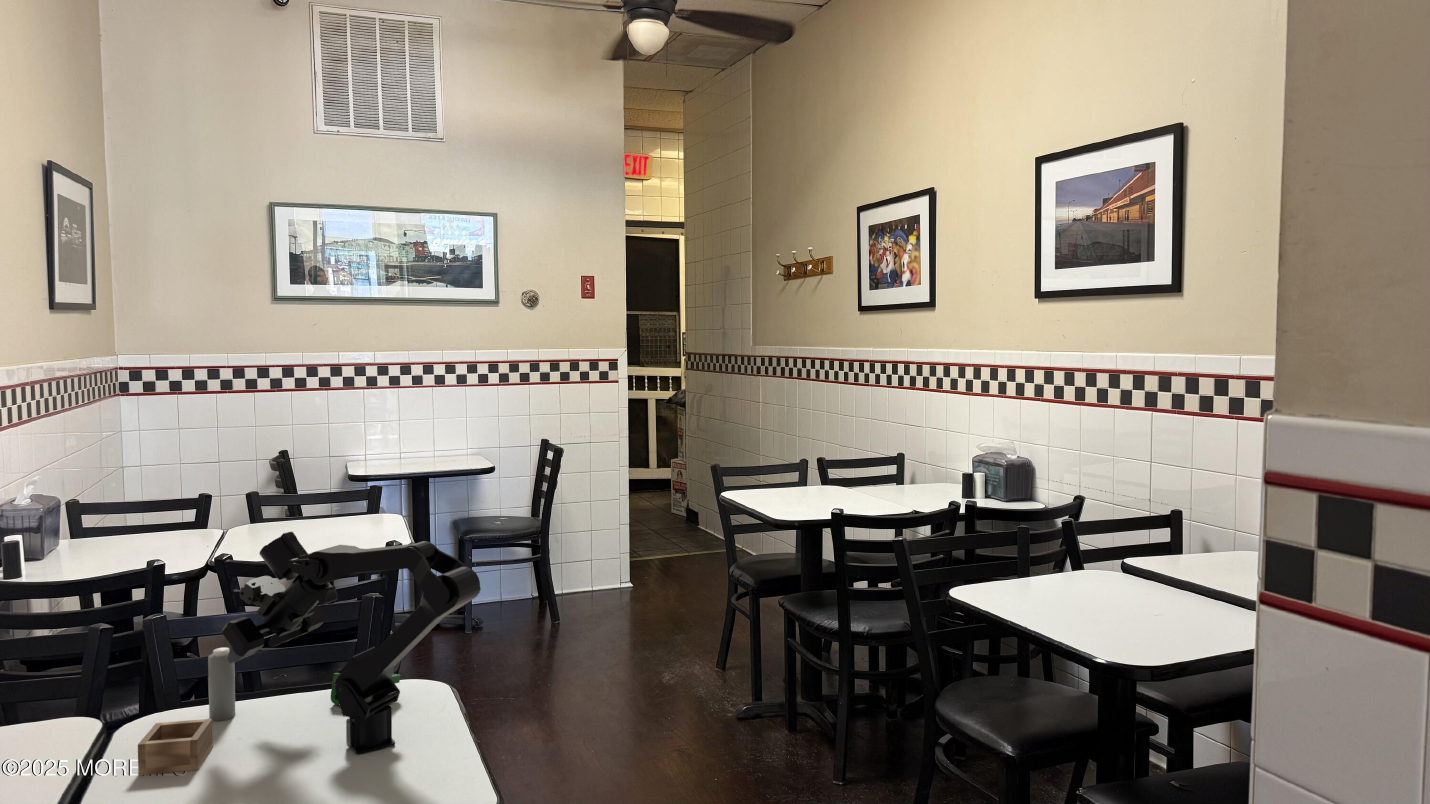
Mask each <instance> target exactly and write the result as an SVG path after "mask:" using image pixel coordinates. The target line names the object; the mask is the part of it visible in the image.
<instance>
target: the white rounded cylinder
mask: <svg viewBox="0 0 1430 804" xmlns="http://www.w3.org/2000/svg"><path fill="white" fill-rule="evenodd" d="M229 651H230V647H226V646H225V647H224V646H223V647H219V648H218V647H217V648H215V649H213V650H212V653H211V654H209V655H208V657H207V660H208V661H207V666H208V669H207V670H208V704H209V705H208V708H209V709H208V712H209V713H208V714H209V717H208V719H212V722H222V721H223V722H225V721H228V720H230V719H233V718H234V717H235V716H236V683H235V682H236V679H235V678H236V677H235V676H236V674H235V669H236V668H235V662H234V663H229V661H228V660H227V658H228V654H229Z"/></svg>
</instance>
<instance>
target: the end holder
mask: <svg viewBox="0 0 1430 804" xmlns="http://www.w3.org/2000/svg"><path fill="white" fill-rule="evenodd" d="M213 734H214V733H213V721H212V719H209V718H205V719H192V720H191V719H190V720H178V721H165V722H156V723H155V724H154V725H153V726H152V727H151V729H149V731H148V732H147V733H146V734H145V736H143V738H142V739H141V740H140V741H139V742H138V744H137V765H138V766H137V767H138V769H137V770H138V774H137V775H138V776H145V775H157V774H169V773H179V772H181V773H182V772H190V771H192V772H193V771H199V769H200V768H201V766H202V764H203V763H204V762H205V760H206V759H207V757H208V755H210V752H211V751H212V749H213V748H214V743H213V742H214V741H213V740H214V738H213V737H214V736H213Z"/></svg>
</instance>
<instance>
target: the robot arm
mask: <svg viewBox="0 0 1430 804" xmlns="http://www.w3.org/2000/svg"><path fill="white" fill-rule="evenodd" d="M259 555H260V557H261V558H262V559H263V561H264V562H265V564H266V565H267V566H268V567H269V569H270V570H271V572H272V573H273V574H274V576H275V578H277V579H275V578H273V577H272V576H270V575H263V576H259V577H257V578H252V579H250V580H249V581H248V582H245V583H244V585H243V586H241V587H240V592H239V598H240V599H241V600H243V601H244V602H245V603H246V604H248V605H250V604H254V606H255V605H256V606H257V607H258V609H257V610H256V613H257V614H258V615H259V617H263V618H262V619H263V623H261V624H259V625H256V624H255V623H254V621H253V620H252V618H251V617H249V616H242V617H239V618H236V619H233V620H230V621H228V622H227V623H226V624H225V625H224V626H223V627H222V629H221V634H222V635H223V636H224V638H225V639H226V641H227V642H228V643H229V644H230V647H229V654H228V658H227V660H228V661H229V663H234V664H235V663H236V662H239V661H240V660H242V659H245V658H247V657H250V656H252V655H254V654H257V653H259V650H260V649H262V648H263V647H264V645H265V639H266V638H269V637H270V640H269V641H268V646H269V647H270V648H274V647H277V646H279V645H281V644H283V643H286V642H289V641H291V640H292V639H296V638H299V637H300V636H303V635H305V634H308V633H309V632H312V631H313V630H315V629H318V628H320V627H321V626H322V625H323V624H324V623H325V614H324V612H323V611H322V609H321V608H320V607H319V606H318V603H320V605H322V606H323V605H324V606H325V605H326V604H329V603H332V602H335V601H337V600H338V597H339V596H338V593H337V588H336V587H337V586H335V585H331V583H332V582H334V581H337V580H340V579H343V578H346V577H349V576H352V575H357V574H365V573H375V572H385V571H398V570H405V569H408V570H409V572H411V574H412V577H413V578H414V580H415V583H416V585H417V587H418V588H419V590H421V591H422V592H423V593H422V595H421V600H420V603H419V605H418V606H417V608H415V609H414V610H413V611H412V612H411V614H409V615H408V616H407V617H406V618H405V619H404V621H402V622H401V623H400V624H399V626H397V627H396V628H395V629H394V631H393V632H392V633H391V634H390V635H388V637H387V638H386V639H384V641H382V643H380V644H379V646H378V647H377V648H376V647H375V646H372V647H371V648H368V649H367V650H363V651H362V652H360V653H358V654H355V655H354V656H353V655H352V657H350V658H349V660H348V661H347V662H346V664H345V665H344V666H343V667H342V668H340V669H338V670H336V673H339V675H338V676H337V677H336V679H335V682H334V684H335V691H336V695H337V698H338V701H339V707H340V710H341V714H342V716H343V717H347V719H346V721H345V726H346V727H345V737H346V739H345V741H346V744H347V745H348V747H350V749H352V750H353V752H354V753H355V754H357V755H360V754H364V753H368V752H372V751H376V750H380V749H384V748H389V747H392V746H395V745H396V741H395V740H394V739H393V737H392V736H393V735H392V734H393V727H392V726H393V725H392V723H393V721H392V720H393V719H392V718H393V717H392V715H393V714H392V712H393V710H392V709H393V708H392V706H391V705H392V704H394V703H396V702H398V700H399V697H400V695H401V690H400V688H398V686H397V685H396V684H394V682H393V681H392V680H391V679H390V678H391V677H392V674H394V669H395V667H396V665H397V664H398V663H400V661H401V660H402V659H403V658H405V656H406V655H407V654H408V653H410V652H411V650H412V649H414V647H415V646H416V645H418V643H419V642H421V641H422V639H424V637H425V636H427V635H428V633H430V632H431V630H432V629H433V628H434V627H436V626H437V624H439V623H440V622H441V621H442V620H443V619H444V618H445V617H446V616H448V615H449V614H452V613H454V612H455V611H457V610H458V609H461V608H462V607H464V606H465V605H466V604H467V603H469V602H471V601H472V600H475V598H477V597H478V596H479V594H480V593H481V591H482V590H481V589H482V588H481V581H480V578H479V576H478V574H477V573H476V572H475V571H474V570H473V569H472V568H471V567H468V566H466V565H465V564H464V563H463V562H462V561H461V560H459V559H458V558H456V557H454V556H452V555H450V554H448V553H446V552H444V551H442V550H440V549H439V548H438V547H437V546H436V545H434V543H432V542H430V541H426V540H424V541H420V542H417V543H408V544H400V545H391V546H381V547H371V548H360V547H358V546H356V545H349V544H345V545H344V544H338V545H334V546H330V547H326V548H323V549H319V550H316V551H315V550H314V551H313V552H311V553H308V552H307V551H306V548H304V546H303V545H302V544H301V542H300V541H299V539H298V537H297V536H296V534H295V533H294V532H293V531H287V532H283V533H282V534H281V535H280V536H278V537H277V538H275V539H273V540H272V541H270V542H269V543H268V544H265V545H264V546H263V547H262V548H261V549H260V551H259ZM433 571H436V572H437V573H439V574H440V575H436V573H434V572H433ZM284 579H285V580H286V581H291V583H290V584H289V585H288V586H287V587H285V586H284V584H281V582H279V581H281V580H284ZM330 582H331V583H330ZM371 695H373V696H372V697H370V696H371ZM368 697H370V698H368ZM366 698H368V699H366ZM364 699H366V700H364Z"/></svg>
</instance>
